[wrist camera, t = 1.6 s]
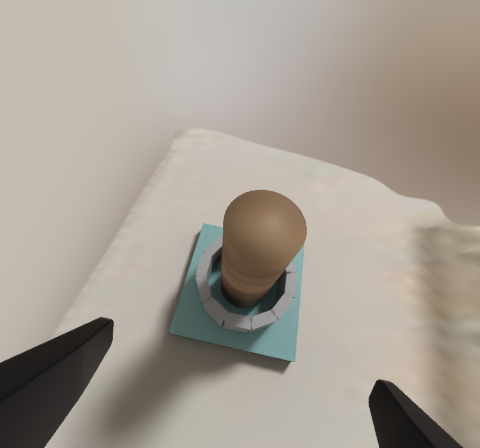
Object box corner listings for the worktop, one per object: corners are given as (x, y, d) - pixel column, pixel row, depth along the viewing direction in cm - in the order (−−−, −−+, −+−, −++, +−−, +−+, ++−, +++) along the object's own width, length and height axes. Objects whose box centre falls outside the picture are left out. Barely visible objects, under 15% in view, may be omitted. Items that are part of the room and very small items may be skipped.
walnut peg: (262, 312, 20) (303, 273, 11) (215, 302, 20) (214, 253, 11) (269, 267, 22) (309, 199, 12) (226, 258, 22) (233, 183, 13)
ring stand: (291, 361, 20) (307, 362, 16) (170, 333, 20) (160, 328, 16) (300, 249, 24) (314, 231, 21) (203, 228, 25) (201, 206, 21)
